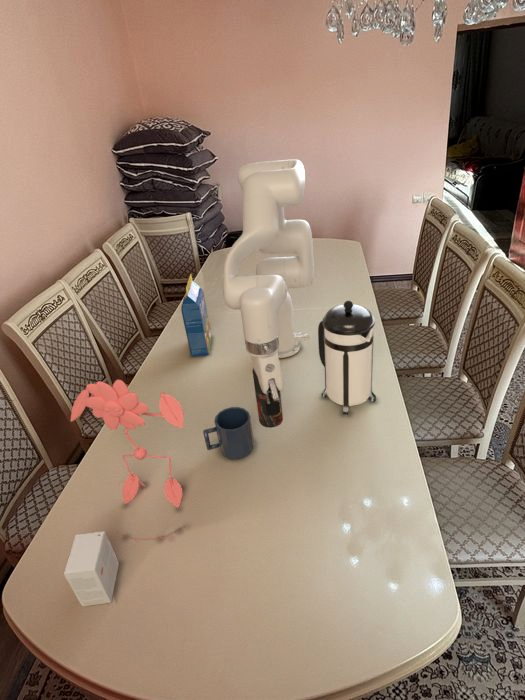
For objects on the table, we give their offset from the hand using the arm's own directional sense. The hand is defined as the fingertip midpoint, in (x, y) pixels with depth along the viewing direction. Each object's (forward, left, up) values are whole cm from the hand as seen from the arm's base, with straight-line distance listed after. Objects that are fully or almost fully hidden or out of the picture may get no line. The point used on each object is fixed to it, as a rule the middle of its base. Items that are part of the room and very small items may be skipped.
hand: (269, 405), depth 110 cm
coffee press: (-24, -8, -11) cm, 27 cm away
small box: (+42, +26, -11) cm, 51 cm away
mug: (+11, 0, -10) cm, 15 cm away
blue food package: (+9, -53, -11) cm, 55 cm away
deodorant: (0, 0, -5) cm, 5 cm away
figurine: (+32, +12, -11) cm, 36 cm away
